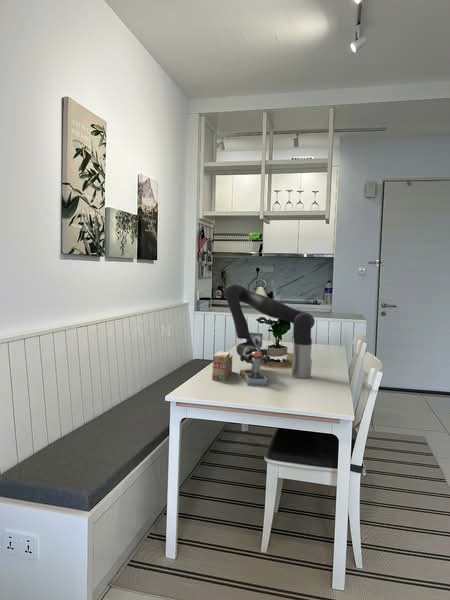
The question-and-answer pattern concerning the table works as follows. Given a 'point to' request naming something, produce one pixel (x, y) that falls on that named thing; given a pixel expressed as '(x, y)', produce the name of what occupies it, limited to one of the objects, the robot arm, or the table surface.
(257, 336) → the small box
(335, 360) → the table surface
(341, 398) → the table surface
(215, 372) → the stack of blocks
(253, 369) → the pin
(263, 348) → the miniature car
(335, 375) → the table surface
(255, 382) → the tray
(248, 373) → the socket block
